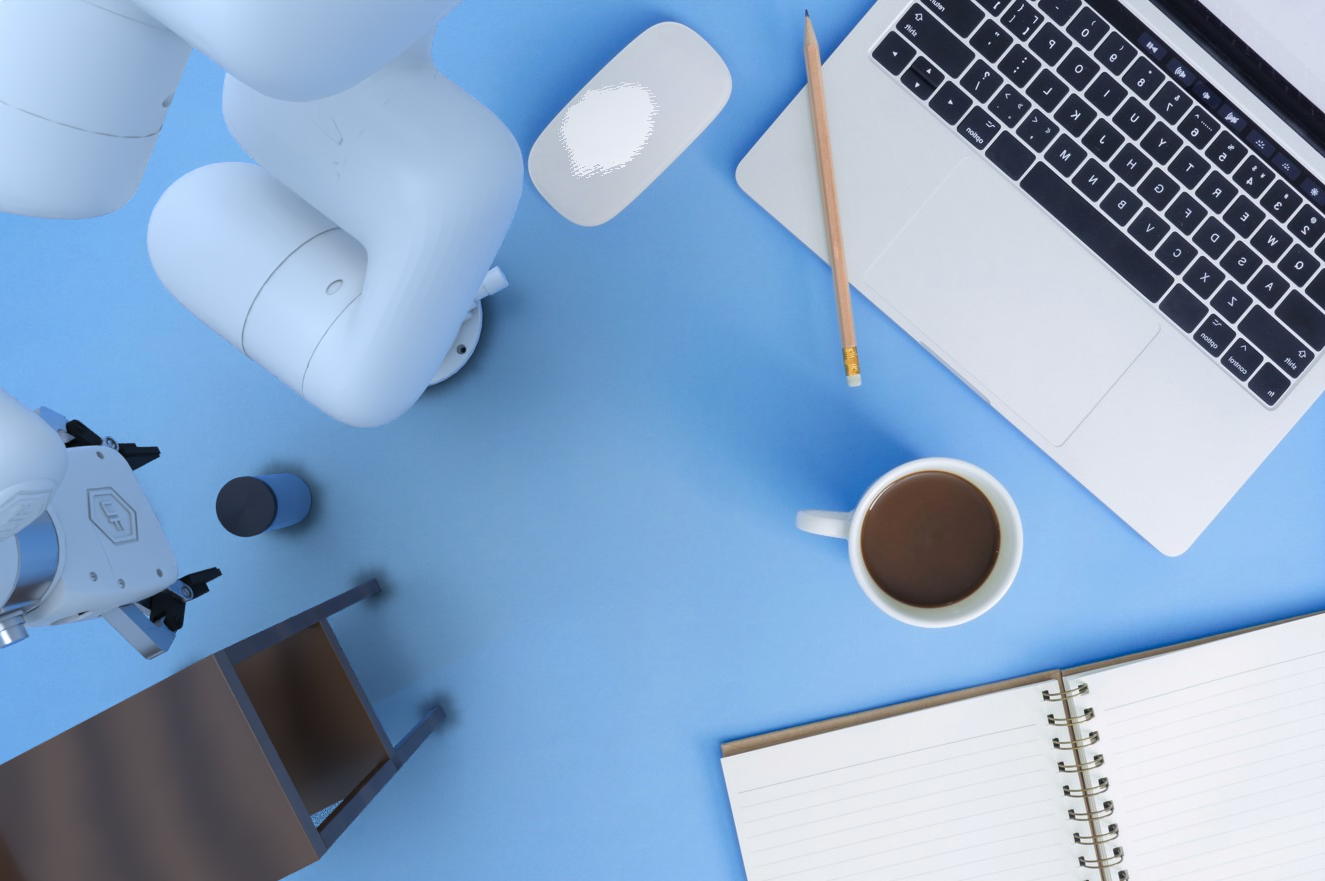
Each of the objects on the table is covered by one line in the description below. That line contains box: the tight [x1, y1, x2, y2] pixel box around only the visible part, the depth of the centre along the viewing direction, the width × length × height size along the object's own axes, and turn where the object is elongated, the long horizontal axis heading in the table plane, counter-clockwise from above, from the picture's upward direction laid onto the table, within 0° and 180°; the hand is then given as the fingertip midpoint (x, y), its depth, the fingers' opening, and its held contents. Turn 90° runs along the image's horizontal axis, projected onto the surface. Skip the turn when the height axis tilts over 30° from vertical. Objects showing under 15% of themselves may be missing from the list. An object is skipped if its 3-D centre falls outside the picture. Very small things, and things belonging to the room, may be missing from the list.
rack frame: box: [223, 578, 447, 851], centre depth 67 cm, size 20×14×25 cm
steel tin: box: [215, 472, 312, 538], centre depth 76 cm, size 5×5×7 cm
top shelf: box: [0, 648, 328, 881], centre depth 53 cm, size 20×14×3 cm
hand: (172, 520), depth 63 cm, fingers open, 9 cm apart
